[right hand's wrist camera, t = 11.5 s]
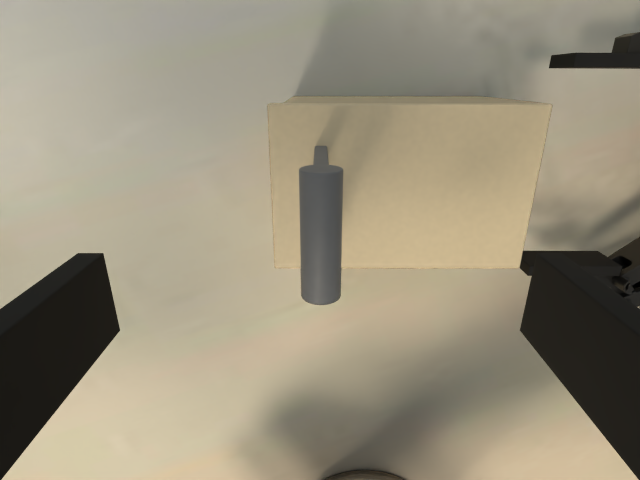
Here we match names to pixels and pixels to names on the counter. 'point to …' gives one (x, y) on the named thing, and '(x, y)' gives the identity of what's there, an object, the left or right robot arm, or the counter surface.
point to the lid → (401, 186)
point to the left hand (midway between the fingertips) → (538, 171)
